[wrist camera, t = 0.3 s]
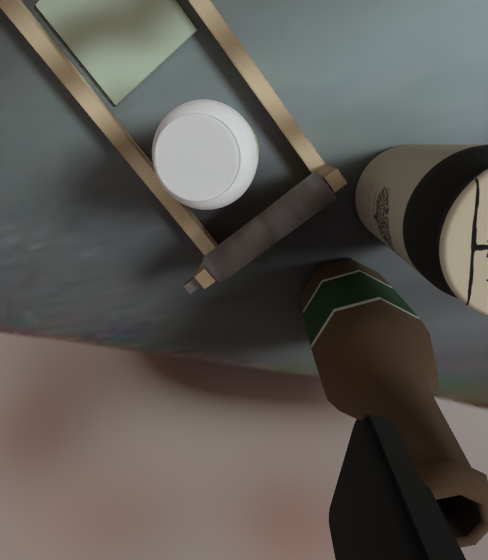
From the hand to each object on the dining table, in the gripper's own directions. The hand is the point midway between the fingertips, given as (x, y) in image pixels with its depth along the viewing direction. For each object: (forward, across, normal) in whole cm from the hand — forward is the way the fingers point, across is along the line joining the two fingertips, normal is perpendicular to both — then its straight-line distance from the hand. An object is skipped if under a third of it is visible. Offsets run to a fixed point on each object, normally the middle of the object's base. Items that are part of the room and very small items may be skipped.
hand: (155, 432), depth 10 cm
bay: (+28, +6, -10) cm, 30 cm away
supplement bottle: (+28, +2, -6) cm, 29 cm away
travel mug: (+28, -14, -5) cm, 32 cm away
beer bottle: (+28, -11, +4) cm, 31 cm away
